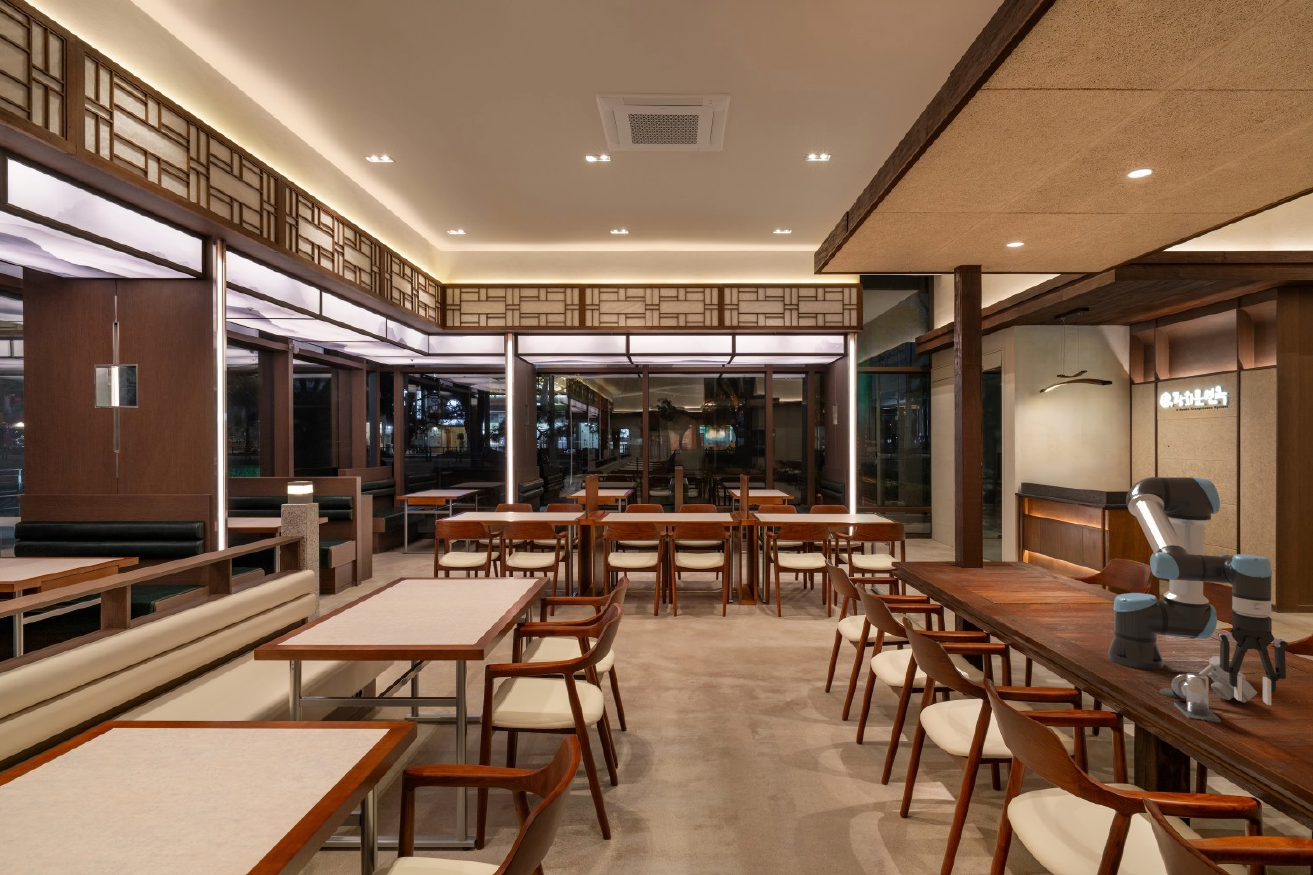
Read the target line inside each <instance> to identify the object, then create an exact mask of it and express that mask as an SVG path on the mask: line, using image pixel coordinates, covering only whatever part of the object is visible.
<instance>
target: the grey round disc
mask: <svg viewBox="0 0 1313 875" xmlns="http://www.w3.org/2000/svg"><path fill="white" fill-rule="evenodd" d="M1159 693H1160V694H1161V695H1162V696H1165V697H1168V698H1172V699H1177V700H1178V699H1179V700H1181V699H1180V698H1178V697H1177V696H1175V695H1174V693H1173V691H1172V688H1159Z"/></svg>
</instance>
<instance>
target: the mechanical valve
mask: <svg viewBox="0 0 1313 875" xmlns="http://www.w3.org/2000/svg"><path fill="white" fill-rule="evenodd" d="M1208 663H1209V665H1207V666H1206V667H1204V668H1203V670H1201V671H1200V672H1199V673H1198V674H1202V675H1205V676H1207V677H1208V678H1211V680H1212V681H1213V682H1212V683H1211V684H1210V687H1211V689H1212V690H1213V691H1214V692H1215V693H1216V694H1217V695H1218V696H1219V697H1221V698H1223V699H1225V700H1227V701H1231V699H1233V698H1235V697H1234V687H1232V686H1231V685H1230V683H1229V673H1228V672H1225V671H1224V670H1222V669H1221V668H1220V655H1213V656H1211V657H1210V658H1209V659H1208ZM1238 674H1239V675H1240V676H1241V677H1242V701H1240V703H1243V704H1245V703H1246V702H1248V701H1249V700H1251V699H1253V697H1255V696H1256V695H1257V694H1258V692H1257V690H1256V689H1254V687H1253V686H1252V685H1251V683H1250V682H1249V681H1247V680H1246V678H1247V677H1246V675H1244V674H1243V673H1242V672H1238ZM1171 689H1172V688H1171ZM1172 691H1173V689H1172ZM1173 693H1174V695H1175V696H1177V697H1178V698H1180V699H1179V700H1185V699H1184V698H1181V697H1180V696H1178V695H1177V694H1176V693H1175V692H1174V691H1173Z"/></svg>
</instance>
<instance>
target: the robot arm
mask: <svg viewBox="0 0 1313 875" xmlns="http://www.w3.org/2000/svg"><path fill="white" fill-rule="evenodd" d="M1125 498H1126V499H1125V504H1126V507H1127V509H1128V511H1129V513H1130V514H1131V515H1132V516H1134V517H1135V518H1136V520H1137V522H1138V523H1139V525H1140V527H1141V529H1142V532H1143V534H1144V536H1145V538H1146V539H1147V542H1148V543H1149V545H1150V548H1151V551H1152V552H1153V553H1152V554H1151V556H1150V559H1149V564H1150V565H1149V566H1150V568H1151V570H1150V571H1151V573H1152V576H1154V577H1156V578H1158V579H1165V580H1166V579H1167V580H1169V587H1168V588H1169V590H1167V591H1166V592H1164V593H1163V599H1158V598H1157V596H1156V595H1153V594H1149V593H1142V592H1129V593H1121V594H1118V595H1117V596H1115V598H1114V601H1113V602H1114V604H1113V622H1114V623H1113V627H1114V628H1113V629H1114V630H1113V639H1112V640H1111V643H1110V645H1109V648H1108V652H1107V657H1108V659H1109V660H1110V661H1111V662H1113V663H1116V664H1118V665H1121V666H1125V667H1128V668H1134V669H1138V670H1147V671H1148V670H1149V671H1150V670H1151V671H1155V670H1156V671H1157V670H1162V669H1163V668H1164V666H1165V665H1164V658H1163V656H1162V653H1161V650H1160V649H1159V648H1160V647H1159V646H1158V640H1157V638H1158V635H1159V636H1160V635H1161V636H1168V637H1178V638H1186V639H1187V638H1188V639H1193V640H1194V639H1200V640H1202V639H1203V640H1207V639H1209V638H1211V637H1212V636H1213V635H1214V634H1215V631H1216V629H1217V624H1218V617H1217V610H1216V608H1215V607H1214V605H1212V604H1210V600H1209V599H1208V598H1207V597H1206V596H1205V595H1204V582H1205V583H1215V584H1228V585H1229V584H1230V585H1231V595H1232V600H1231V601H1232V602H1231V603H1232V604H1231V605H1232V606H1231V609H1232V611H1233V612H1232V614H1231V616H1232V617H1231V618H1232V621H1231V622H1232V623H1231V624H1232V628H1231V630H1230V631H1229V632H1225V633H1222V632H1217V637H1218V639H1219V641H1220V642H1219V644H1220V647H1219V656H1220V668H1221V669H1222V670H1224V671H1225V672H1228V673H1229V683H1230V685H1231V686H1232V687H1234V697H1233V698H1235V699H1236V700H1237V701H1239V702H1241V701H1242V677H1241V676H1240V675H1239V674H1238V673H1240V669H1241V666H1242V664H1243V661H1244V658H1245V656H1246V653H1248V650H1255V651H1257V652H1258V655H1259V658H1260V660H1261V661H1260V662H1261V664H1262V666H1263V669H1264V672H1265V675H1266V676H1267V677H1266V676H1262V701H1263V703H1265V704H1266V705H1267V706H1272V693H1276V691H1277V682H1278V681H1279V680H1285V679H1286V678H1287V670H1286V669H1287V668H1286V650H1287V647H1288V646H1289V644H1288V642H1287V641H1285V640H1283V639H1282V638H1277V637H1275V636H1274V635H1273V632H1272V631H1273V629H1272V627H1273V626H1272V624H1273V622H1272V620H1273V619H1272V618H1271V615H1272V574H1273V570H1272V564H1271V560H1270V559H1269V558H1268V557H1266V556H1262V555H1256V554H1246V553H1245V554H1243V553H1242V554H1234V555H1233V554H1232V555H1231V554H1230V555H1229V554H1220V555H1207V554H1206V555H1205V525H1206V524H1207V523H1208V522H1210V521H1212V515H1215V514H1217V513H1219V512H1220V508H1221V502H1220V495H1219V491H1218V489H1217V487H1216V486H1215V484H1214V483H1213V482H1212V481H1211V480H1210V479H1208V478H1200V477H1192V476H1191V477H1182V476H1181V477H1180V476H1178V477H1171V476H1170V477H1169V476H1168V477H1163V476H1161V477H1160V476H1152V477H1147V478H1143V479H1141V480H1139V481H1137V482H1135V484H1133V485H1132V486H1131V487H1130V488H1129V490H1128V491H1127V494H1126V497H1125ZM1232 638H1233V639H1234V640H1235V641H1236V645H1235V649H1234V653H1233V656H1232V659H1231V662H1230V651H1231V650H1230V649H1231V647H1230V646H1231V645H1230V642H1231V641H1232ZM1271 644H1273V646H1274V666H1275V667H1273V663H1272V661H1271V660H1272V659H1270V656H1269V655H1270V654H1269V650H1268V646H1270V645H1271Z"/></svg>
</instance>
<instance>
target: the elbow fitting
mask: <svg viewBox="0 0 1313 875" xmlns="http://www.w3.org/2000/svg"><path fill="white" fill-rule="evenodd" d="M1170 684H1171V689H1173V691H1174V692H1175V693H1176V694H1177V695H1178V696H1180V697H1181V698H1184V699H1183V700H1186V702H1180V701H1179V702H1178V701H1174V702H1173V705H1174V707H1176V708H1177V709H1178V710H1179V711H1180V712H1181V713H1182V714H1183V715H1184V716H1185V717H1186V718H1187V719H1190V718H1193V719H1192V720H1197V719H1201V720H1200V721H1205V720H1207V721H1206V722H1212V723H1221V722H1222V721H1221V718H1220V717H1219V716H1217V715H1216V714H1215V713H1214V712H1213V711H1212V710H1210V708H1209V691H1210V690H1209V686H1210V685H1209V684H1210V683H1209V676H1208V675H1207V676H1205V675H1202V674H1199V673H1198V672H1187V673H1181V674H1177V675H1175V676H1174V677H1173V678H1172V679H1171V682H1170Z"/></svg>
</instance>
